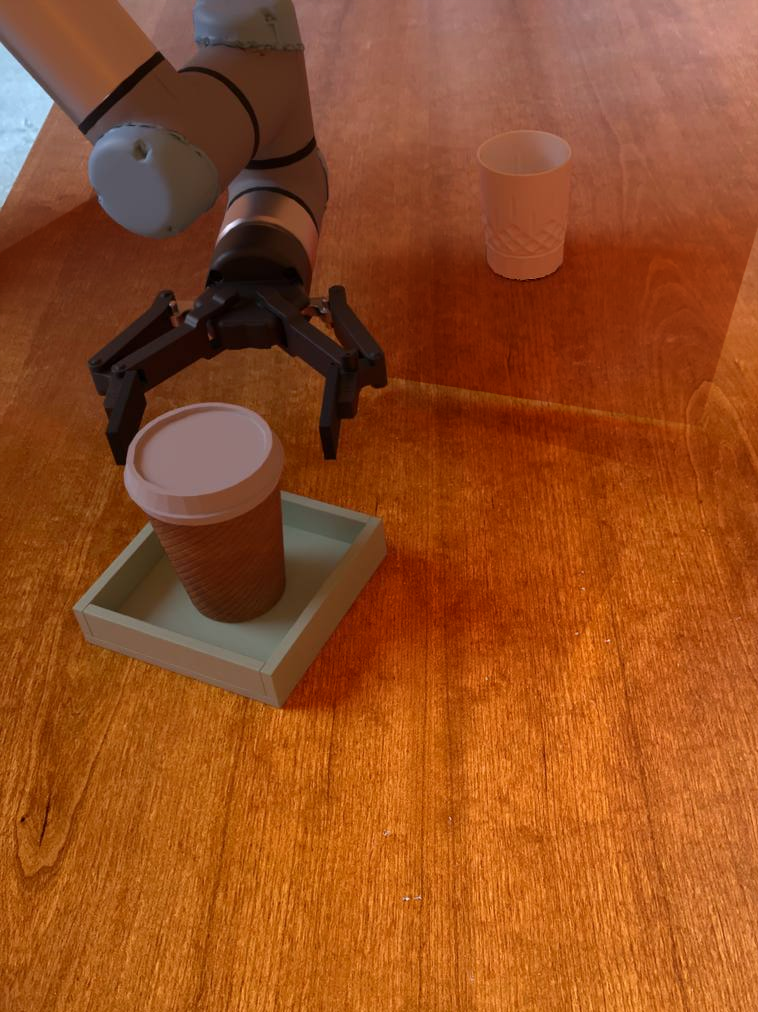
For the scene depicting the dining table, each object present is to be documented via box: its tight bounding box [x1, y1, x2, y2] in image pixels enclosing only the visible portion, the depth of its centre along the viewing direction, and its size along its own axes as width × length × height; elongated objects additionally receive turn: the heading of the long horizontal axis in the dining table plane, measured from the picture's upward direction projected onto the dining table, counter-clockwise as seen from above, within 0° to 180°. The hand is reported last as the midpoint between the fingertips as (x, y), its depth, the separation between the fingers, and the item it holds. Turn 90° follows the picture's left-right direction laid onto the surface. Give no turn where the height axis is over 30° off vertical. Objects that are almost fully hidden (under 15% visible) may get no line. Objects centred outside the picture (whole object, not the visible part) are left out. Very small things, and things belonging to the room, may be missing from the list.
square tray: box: [72, 489, 388, 709], centre depth 78 cm, size 15×15×3 cm
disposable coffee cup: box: [123, 402, 286, 623], centre depth 74 cm, size 10×10×12 cm
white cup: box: [476, 129, 573, 281], centre depth 101 cm, size 8×8×10 cm
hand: (221, 446), depth 76 cm, fingers open, 13 cm apart
